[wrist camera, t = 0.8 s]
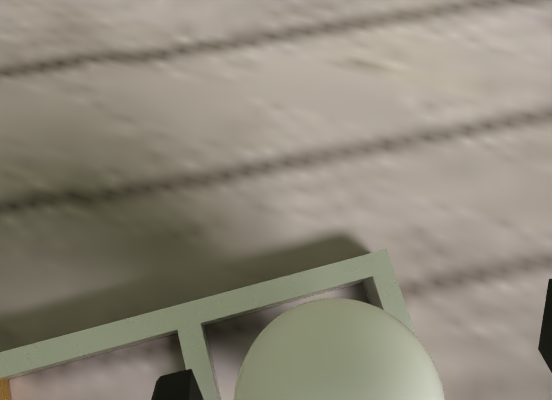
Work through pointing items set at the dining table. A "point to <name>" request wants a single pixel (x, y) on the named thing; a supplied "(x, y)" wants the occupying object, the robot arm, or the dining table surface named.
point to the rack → (209, 320)
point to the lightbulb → (337, 357)
